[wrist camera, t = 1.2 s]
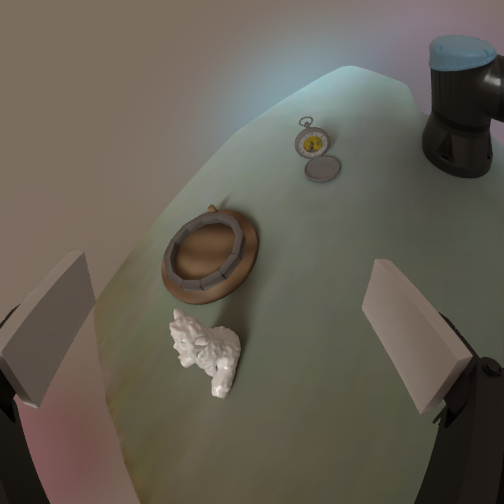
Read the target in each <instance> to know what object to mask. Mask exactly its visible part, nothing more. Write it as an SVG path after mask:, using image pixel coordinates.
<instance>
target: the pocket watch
mask: <svg viewBox="0 0 504 504" xmlns="http://www.w3.org/2000/svg"><path fill="white" fill-rule="evenodd" d="M304 118H310V119H311V123H312V122H313V118H311V117H303V118H301V119H300V121H299V124H300V125H301V126H304V127H307V129H305V130H303V131H301V132H300V133H299V134H298V136H297V137H296V140H295V149H296V151H297V153H298V154H299V155H300V156H301V157H304V158H307V159H311V160H310V161H309V162H308V163H307V164H306V166H305V168H304V172H305V175H306V176H307V178H309V179H310V180H312V181H316V182H324V181H329V180H331V179H333V178H334V177H335V176H336V175H337V174H338V173H339V171H340V165H339V162H338V161H337V160H336V159H335V158H332V157H329V156H322V155H323V154H324V153H325V152H326V151H327V150H328V148H329V146H330V138H329V136H328V134H327V133H326V132H325V131H324V130H322V129H320V128H316V127H311V128H309V126H310V125H311V123H308V122H305V124H304V125H302V124H301V123H300V122H301V120H302V119H304ZM316 137H317V138H318V137H319V140H317V138H316ZM320 141H321V143H320V144H318V142H320ZM311 145H312V146H311ZM317 145H318V146H317ZM305 146H306V147H305ZM309 146H311V147H310V148H312V149H313V150H308V149H310V148H309ZM304 147H305V148H306V149H305V148H304Z"/></svg>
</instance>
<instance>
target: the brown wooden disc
mask: <svg viewBox="0 0 504 504" xmlns="http://www.w3.org/2000/svg"><path fill="white" fill-rule="evenodd" d="M208 210H209V211H210V212H208V213H205V214H202V215H200V216H198V217H196V218H195V219H193V220H191V221H189V222H188V223H186V224H184V225H185V226H184V225H183V226H182V228H181V229H180V230H179V231H178V232H177V233H176V235H175V236H174V237H173V238H172V239H171V241H170V243H169V245H168V247H167V249H166V252H165V254H164V257H163V261H162V270H161V272H162V279H163V282H164V285H165V287H166V288H167V290H168V291H169V292H170V293H171V294H172V295H173V296H175V297H176V298H177V299H179V300H180V301H183V302H185V303H188V304H194V305H202V304H208V303H212V302H215V301H217V300H220V299H222V298H224V297H225V296H227V295H229V294H230V293H232V292H233V291H234V290H235V289H237V288H238V287H239V286H240V285H241V284H242V283H243V281H244V280H245V279H246V278H247V276H248V275H249V273H250V272H251V270H252V268H253V266H254V264H255V261H256V258H257V254H258V238H257V234H256V232H255V229H254V228H253V226H252V224H251V223H250V221H249V220H248V219H247V218H246V217H244V216H243V215H242V214H240V213H237V212H234V211H230V210H217V209H216V208H215V207H214V205H210V206H209V207H208Z"/></svg>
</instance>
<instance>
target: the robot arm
mask: <svg viewBox="0 0 504 504" xmlns="http://www.w3.org/2000/svg"><path fill="white" fill-rule="evenodd" d="M429 49H430V61H429V66H430V68H431V85H432V86H431V87H432V111H431V114H430V117H429V119H428V122H427V124H426V127H425V129H424V131H423V136H422V148H423V151H424V154H425V155H426V157H427V158H428V159H429V160H430V161H431V162H432V163H433V164H434V165H435V166H436V167H438V168H439V169H441V170H443V171H445V172H447V173H449V174H451V175H454V176H458V177H463V178H477V177H480V176H483V175H484V174H486V173H487V172H488V171H489V169H490V166H491V162H492V157H493V152H492V143H491V136H490V122H491V119H495V120H498V121H500V122H503V123H504V56H501V55H498V54H497V52H496V50H495V48H494V46H493V45H492V44H490V43H489V42H487V41H484V40H480V39H478V38H475V37H469V36H463V35H447V36H446V35H445V36H441V37H437V38H435V39H434V40H433V41H432V42H431V43H430V48H429ZM95 303H96V300H95V296H94V293H93V288H92V284H91V280H90V275H89V271H88V266H87V262H86V257H85V252H84V251H70V252H69V253H68V254H67V255H66V256H65V257H64V258H63V259H62V260H61V261H60V262H59V263H58V264H57V265H56V266H55V267H54V268H53V269H52V270H51V271H50V272H49V273H48V274H47V276H46V277H45V278H44V279H43V280H42V281H41V282H40V283H39V284H38V285H37V286H36V287H35V288H34V289H33V291H32V292H31V293H30V294H29V295H28V296H27V297H26V299H25V300H24V301H23V302H22V303H21V304H20V305H18V306H17V307H15V308H14V309H13V310H11V312H10V313H9V314H8V315H7V316H6V318H5V320H3V321H2V322H1V324H0V504H50V502H49V500H48V498H47V496H46V494H45V491H44V489H43V487H42V484H41V482H40V480H39V477H38V474H37V472H36V469H35V467H34V464H33V461H32V458H31V455H30V452H29V449H28V446H27V442H26V439H25V436H24V432H23V428H22V425H21V421H20V417H19V412H18V408H17V404H16V402H15V401H14V399H13V397H14V396H15V394H17V395H18V396H19V398H20V399H21V400H22V402H23V403H24V404H27V405H30V406H32V407H35V408H37V409H39V407H40V404H41V402H42V400H43V398H44V396H45V394H46V392H47V389H48V387H49V385H50V383H51V381H52V379H53V377H54V375H55V373H56V371H57V369H58V367H59V365H60V364H61V362H62V360H63V358H64V356H65V354H66V352H67V350H68V349H69V347H70V345H71V343H72V342H73V340H74V338H75V336H76V335H77V333H78V331H79V329H80V328H81V326H82V324H83V323H84V321H85V319H86V318H87V316H88V314H89V312H90V311H91V309H92V308H93V306H94V305H95ZM362 310H363V312H364V313H365V315H366V317H367V318H368V320H369V322H370V323H371V325H372V327H373V328H374V330H375V332H376V334H377V335H378V337H379V339H380V340H381V342H382V344H383V346H384V347H385V349H386V351H387V353H388V355H389V356H390V358H391V360H392V362H393V364H394V365H395V367H396V369H397V371H398V373H399V375H400V376H401V378H402V380H403V382H404V384H405V386H406V388H407V390H408V391H409V393H410V395H411V397H412V399H413V401H414V403H415V405H416V407H417V409H418V411H419V413H420V414H422V413H425V412H428V411H431V410H434V409H436V407H437V406H438V405H439V404H440V402H441V401H442V400H443V399H444V400H445V402H446V406H445V407H444V408H443V409H442V411H441V412H440V413H439V414H438V415H437V416H436V418H435V419H434V421H433V423H434V424H435V423H436V422H437V421H438V419H439V418H441V420H440V423H439V424H438V425H439V429H438V433H437V437H436V440H435V444H434V448H433V451H432V455H431V458H430V461H429V465H428V468H427V471H426V474H425V476H424V479H423V482H422V485H421V488H420V490H419V493H418V495H417V498H416V500H415V503H414V504H504V368H502V367H501V366H500V364H499V363H497V362H496V361H495V360H493V359H491V358H488V357H482V358H479V356H478V355H477V354H476V352H475V351H474V350H473V349H472V347H471V346H470V345H469V344H468V342H467V341H466V340H465V339H464V337H463V336H462V335H460V332H459V331H458V330H457V329H455V326H454V325H453V324H452V323H451V322H450V320H449V319H448V318H446V317H445V316H443V315H442V314H441V313H439V312H437V311H436V310H435V308H434V307H433V306H432V305H431V304H430V303H429V302H428V300H427V299H426V298H425V297H424V296H423V295H422V294H421V293H420V292H419V290H418V289H417V288H416V287H415V286H414V285H413V284H412V283H411V282H410V281H409V280H408V278H407V277H406V276H405V275H404V274H403V273H402V272H401V271H400V270H399V269H398V268H397V267H396V266H395V265H394V264H393V263H392V262H391V261H390V260H389V259H375V263H374V267H373V270H372V274H371V278H370V281H369V285H368V288H367V291H366V295H365V298H364V301H363V305H362Z"/></svg>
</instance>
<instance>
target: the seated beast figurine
mask: <svg viewBox="0 0 504 504" xmlns="http://www.w3.org/2000/svg"><path fill="white" fill-rule="evenodd" d="M174 319H175V321H173V322H171V323H170V330H171V336H173V338H174V341H175V344H174V346H173V347H174V348H175V349H177V350H178V352H179V353H180V355H179V356H178V358H179V359H181V361H180V362H181V364H182V365H183V366H184V367H189V366H191V365H192V364H196V363H197V365H198V366H199V367H200V368H203V369H205V371H206V373H207V374H208V375H210V376H213V377H214V378H213V380H212V382H211V383H212V395H214V396H217V397H220V398H225V397H226V396H227V395H228V392H229V391H230V390H231V389H232V388H231V386H232V383H233V382H232V380H233V379H234V375H235V373H236V366H237V365H238V363H237V362H238V358H239V357H240V351H241V347H240V341H239V337H238V335H236V334H235V332H234V331H231V330H230V328H227V329H226V328H225V327H224V326H220V327H215V328H213V329H211V328H209V329H208V328H206V327H205V328H203V327H202V325H201V324H200V322H199V321H198V319H195V318H193V317H190V316H186V314H185V312H183V311H182V310H180V309H174ZM216 365H217V367H218V368H217V367H216Z"/></svg>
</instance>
